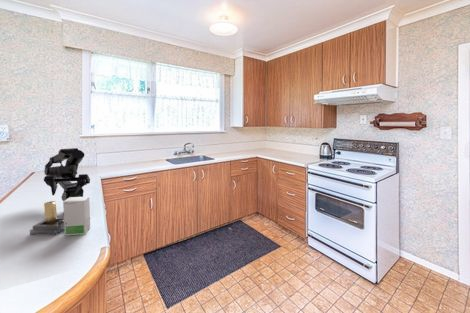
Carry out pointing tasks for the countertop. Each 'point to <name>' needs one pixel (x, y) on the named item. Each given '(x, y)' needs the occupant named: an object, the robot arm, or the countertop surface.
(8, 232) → the countertop surface
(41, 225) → the gray open box
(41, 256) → the countertop surface
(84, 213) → the skincare box
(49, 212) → the brass pin
